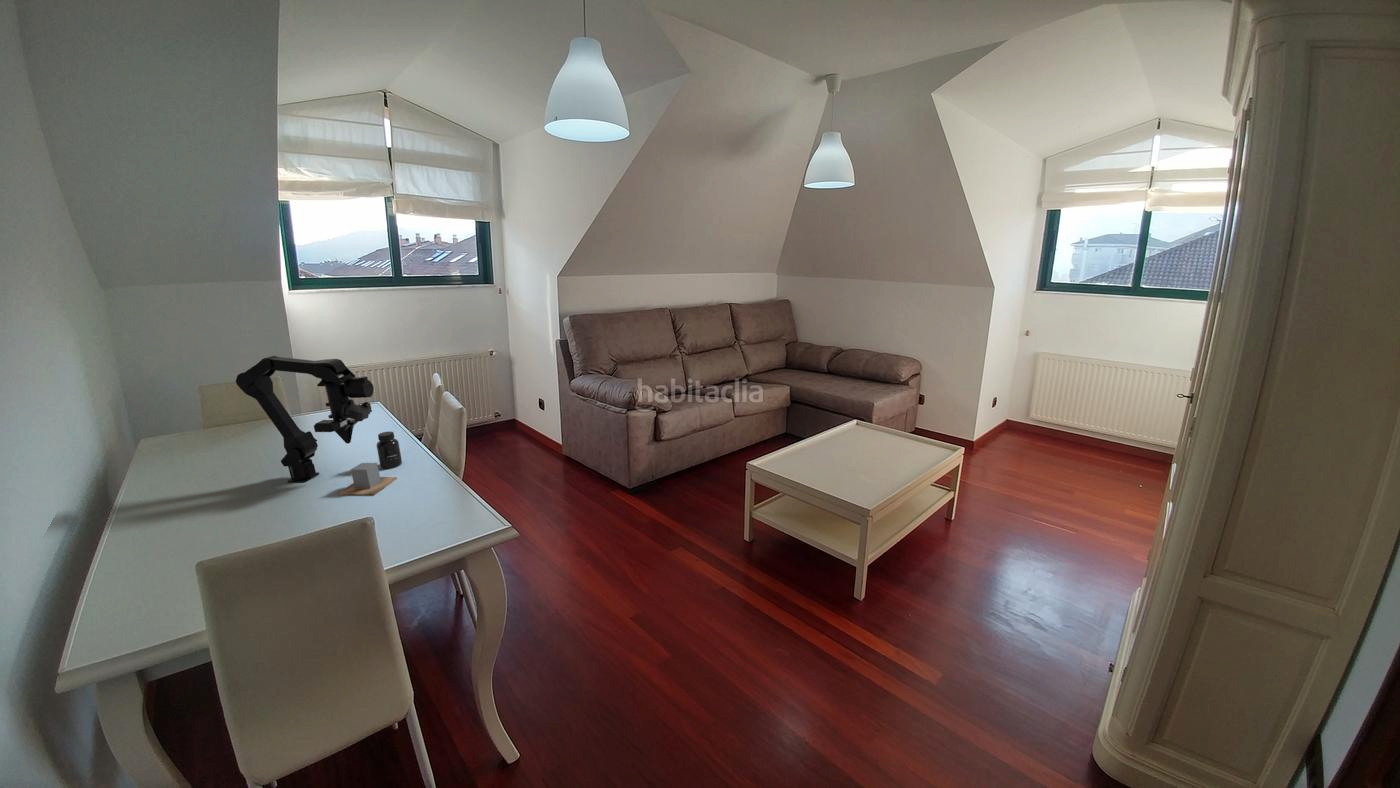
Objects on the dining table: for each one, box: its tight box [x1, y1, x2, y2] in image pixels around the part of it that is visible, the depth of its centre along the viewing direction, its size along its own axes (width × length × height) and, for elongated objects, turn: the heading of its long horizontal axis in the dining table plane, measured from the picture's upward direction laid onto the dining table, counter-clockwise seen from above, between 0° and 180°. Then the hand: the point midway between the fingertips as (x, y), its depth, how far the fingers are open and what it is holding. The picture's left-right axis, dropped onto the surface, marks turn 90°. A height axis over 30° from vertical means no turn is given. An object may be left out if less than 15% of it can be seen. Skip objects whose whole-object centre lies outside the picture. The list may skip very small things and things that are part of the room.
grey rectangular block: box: [350, 462, 381, 489], centre depth 173 cm, size 5×5×7 cm
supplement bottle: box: [376, 431, 403, 470], centre depth 189 cm, size 7×7×12 cm
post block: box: [336, 476, 398, 496], centre depth 173 cm, size 12×12×6 cm
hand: (348, 443), depth 179 cm, fingers closed
